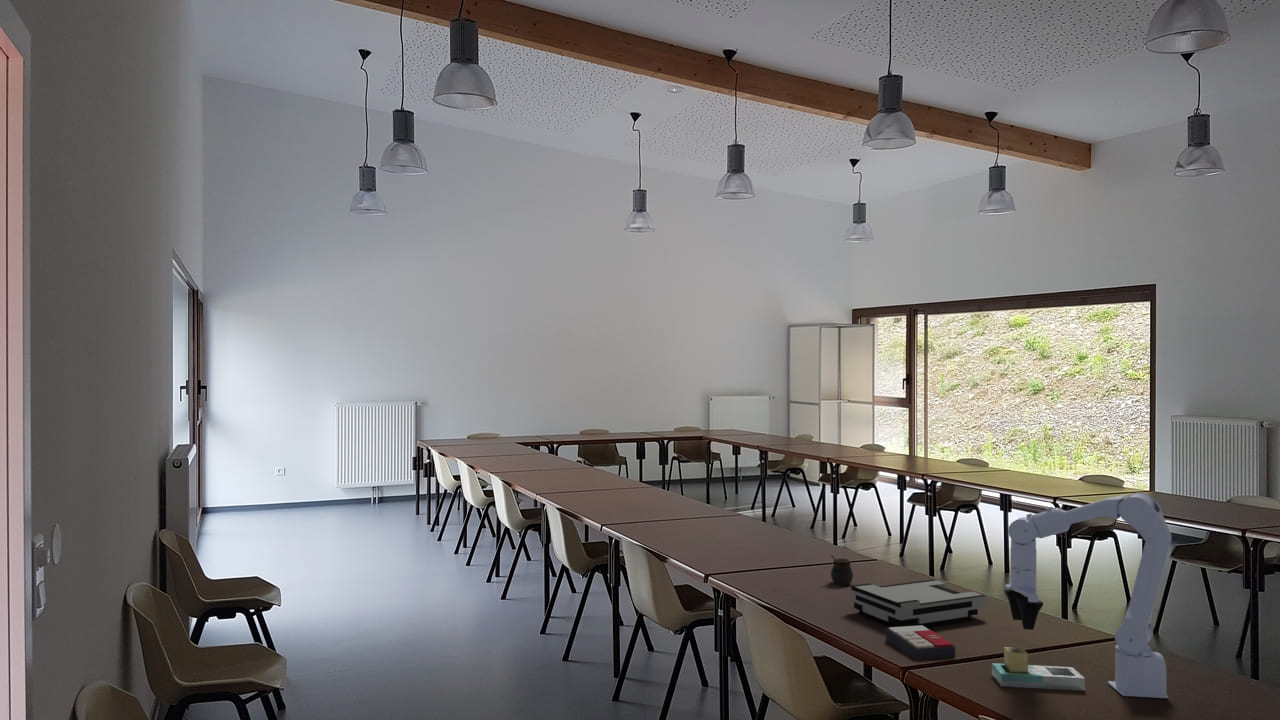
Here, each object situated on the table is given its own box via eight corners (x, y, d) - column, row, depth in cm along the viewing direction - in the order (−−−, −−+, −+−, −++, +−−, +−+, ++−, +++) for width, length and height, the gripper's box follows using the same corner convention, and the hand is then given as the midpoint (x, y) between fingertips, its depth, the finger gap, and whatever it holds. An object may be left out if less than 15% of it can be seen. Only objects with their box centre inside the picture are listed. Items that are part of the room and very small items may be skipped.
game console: (986, 620, 242) (986, 591, 242) (900, 633, 229) (900, 603, 229) (933, 601, 261) (933, 575, 261) (850, 613, 247) (851, 585, 248)
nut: (1021, 673, 195) (1022, 647, 195) (1027, 680, 191) (1027, 653, 191) (1003, 672, 195) (1004, 646, 195) (1009, 679, 191) (1009, 652, 191)
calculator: (916, 646, 207) (885, 625, 222) (916, 663, 207) (885, 641, 222) (956, 643, 209) (923, 622, 224) (955, 660, 210) (922, 638, 224)
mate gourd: (855, 586, 277) (855, 556, 277) (832, 586, 277) (832, 556, 277) (850, 581, 284) (850, 551, 284) (828, 580, 285) (827, 551, 285)
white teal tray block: (1072, 679, 195) (1072, 667, 195) (1084, 690, 188) (1084, 678, 188) (991, 675, 197) (992, 663, 197) (1001, 686, 190) (1001, 673, 190)
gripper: (996, 560, 210) (996, 614, 210) (1015, 574, 196) (1015, 632, 196) (1026, 561, 210) (1025, 616, 209) (1047, 575, 195) (1047, 634, 195)
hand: (1022, 624), depth 203 cm, fingers open, 7 cm apart
